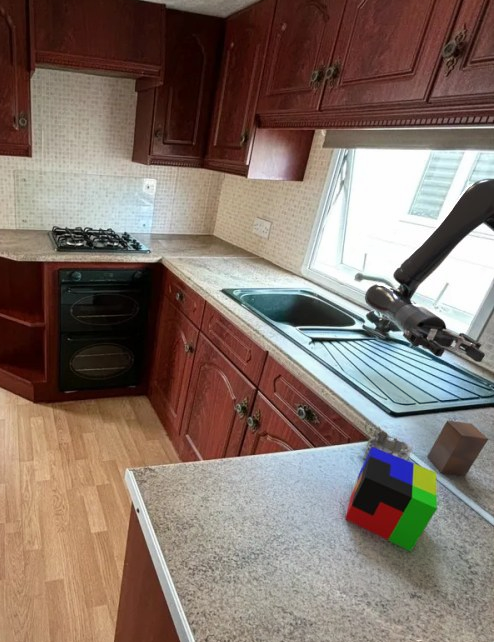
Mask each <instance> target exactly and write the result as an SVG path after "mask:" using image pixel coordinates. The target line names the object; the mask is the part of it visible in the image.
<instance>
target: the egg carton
mask: <svg viewBox="0 0 494 642" xmlns="http://www.w3.org/2000/svg"><path fill="white" fill-rule="evenodd" d="M371 447H374V448H377V449H379V450H382V451H384V452H387V453H389V454H392V455H394V456H397V457H399V458H402V459H404V460H406V461H409V458H410V456H411V453H412V451H413V446H412V445H410V444H407V443H406V442H405V441H400V440H398V438H397V437H394V438H393V439H392V438H390V437H388V432H387V431H385V430H382V429H381V426H378V427H376V429H375V430H374V432H373V433H372V435H371V437H370V438H369V439H368V441H367V443H366V447H365V448H366V449H365V451H364V452H365V454H364V455H363V457H362V458H363V459H364V461H365V460H366V457H367V455H368V453H369V451H370V449H371Z"/></svg>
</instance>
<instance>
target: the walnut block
mask: <svg viewBox="0 0 494 642" xmlns="http://www.w3.org/2000/svg"><path fill="white" fill-rule="evenodd" d="M488 441H489V438H488V437H487V436H486V435H485V434H484V433H482V431H480V429H478V428H477V427H476V426H475V425H474V424H473V423H469V422H461V421H456V420H455V421H453V420H446V421H445V424H444V425H443V427H442V429H441V431H440V432H439V434H438V436H437V438H436V440H435V441H434V443H433V445H432V447H431V448H430V451H429V452H428V454H427V455H426V457H427V459H429V461H430V462H431V463H432V464H433V465H434V467H435V468H436V469H437V470H438V472H439V473H440V474H446V475H453V476H461V477H466V475H467V474H468V472H469V471H470V469H471V468H472V467H473V464H474V463H475V461H476V460H477V458H478V457H479V455H480V453H481V452H482V450H483V448H484V447H485V446H486V444H487V442H488Z"/></svg>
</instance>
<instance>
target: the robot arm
mask: <svg viewBox="0 0 494 642" xmlns="http://www.w3.org/2000/svg"><path fill="white" fill-rule="evenodd" d="M481 225H485V226H486V227H487V228H489V229H490V230H491V231H492V232H494V178H483V179H480V180H477V181H475V182H473V183H472V184H470V185H469V186H467V187H466V188H465V189H464V191H463V192H462V194H461V195H460V196H459V198H458V200H456V202H455V203H454V205H453V206H452V207H451V209H450V211H448V213H447V214H446V216H445V217H444V219H443V220H441V222H440V224H438V226H437V227H436V228H435V229H434V231H432V233H431V234H430V235H428V236H427V238H426V239H425V240H424V241H423V242H422V243H421V244H420V245H419V246H418V247H417V248H416V249H415V250H414V251H413V252H412V253H411V254H410V255H409V256H407V258H406V259H405V260H404V261H403V262H402V263H401V264H400V265H399V266H398V267H397V268H396V269H395V270H394V272H393V274H392V277H393V279H394V280H395V282H397V283H398V284H399V286H398V287H397V288H394V287H391V286H389V285H386V284H383V283H376V284H373V285H371V286H370V287H368V288H367V290H366V291H365V294H364V301H365V303H366V304H367V306H368V307H369V308H371V309H372V310H374V311H376V312H378V314H381V315H383V316H384V317H386V318H387V319H388V320H390V322H392V323H393V324H394V325H395V326H397V328H398V330H400V331H401V332H402V337H404V339H406V340H407V342H409V343H410V345H412V346H414V347H415V348H416V347H417V348H418V347H420V346H421V349H423V350H428V351H429V352H430V353H431V354H433V355H434V356H435V357H438V358H441V357H442V356H443V354H444V353H445V351H446V349H448V350H450V351H452V352H460V353H463V354H465V355H466V356H467V357H468V358H471V360H473V361H475V362H477V363H481V362H482V361H483V360H484V358H485V356H486V353H484V352H483V351H482V350H481V349H480V348H481V347H482V344H481V342H478V340H475V339H474V338H472V337H471V336H469V335H467V334H465V333H464V332H460V333H459V334H457V333H453V332H452V331H451V330H449V329H447V325H446V323H445V321H444V319H442V318H441V317H439V316H438V315H436V314H435V313H433V312H432V311H431V310H428V309H427V308H425V307H424V306H421V305H420V304H417V302H415V301H413V300H412V298H413V296H414V295H415V293H416V292H417V290H418V288H420V285H422V283H423V282H424V281H426V279H428V278H429V277H430V276H431V275H432V274H433V273H434V272H435V271H436V270H437V269H438V268H439V267H440V266H441V265H442V264H443V262H444V261H445V260H446V259H447V258H448V256H449V255H450V254H451V253H452V251H453V250H454V249H456V247H457V246H458V245H459V244H460V243H461V242H462V241H463V240H464V239H465V238H466V237H468V235H469V234H470V233H471V232H473V231H475V230H476V229H477V228H479V227H480V226H481ZM453 343H455V345H454V346H452V345H453Z"/></svg>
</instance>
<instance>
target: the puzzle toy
mask: <svg viewBox="0 0 494 642" xmlns="http://www.w3.org/2000/svg"><path fill="white" fill-rule="evenodd" d="M437 488H438V487H437V472H436V471H434V470H431V469H428V468H426V467H424V466H421V465H419V464H416V463H413V462H412V461H409V460H407V461H406V460H404V459H402V458H399V457H397V456H394V455H392V454H389V453H387V452H384V451H382V450H379V449H377V448H374V447H371V449H370V451H369V453H368V455H367V457H366V460H365V459H364V462H363V464H362V466H361V468H360V470H359V473H358V474H357V477H356V479H355V481H354V483H353V485H352V489H351V493H350V497H349V500H348V501H349V502H348V506H347V510H346V514H345V519H344V520H346V521H348V522H350V523H352V524H354V525H355V526H359V527H361V528H362V529H364V530H367V531H368V532H370V533H372V534H374V535H377V536H378V537H381V538H382V539H384V540H386V541H388V542H390V543H393V544H395V545H397V546H399V547H401V548H403V549H405V550H406V551H408V552H412V550H413V548H414V547H415V546H416V544H417V542H418V540H419V539H420V537H421V536H422V534H423V532H424V531H425V529H426V527H427V526H428V524H429V523H430V521H431V519H432V518H433V516H434V514H435V513H436V511H437V510H438V496H437V495H438V493H437V492H438V490H437Z"/></svg>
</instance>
